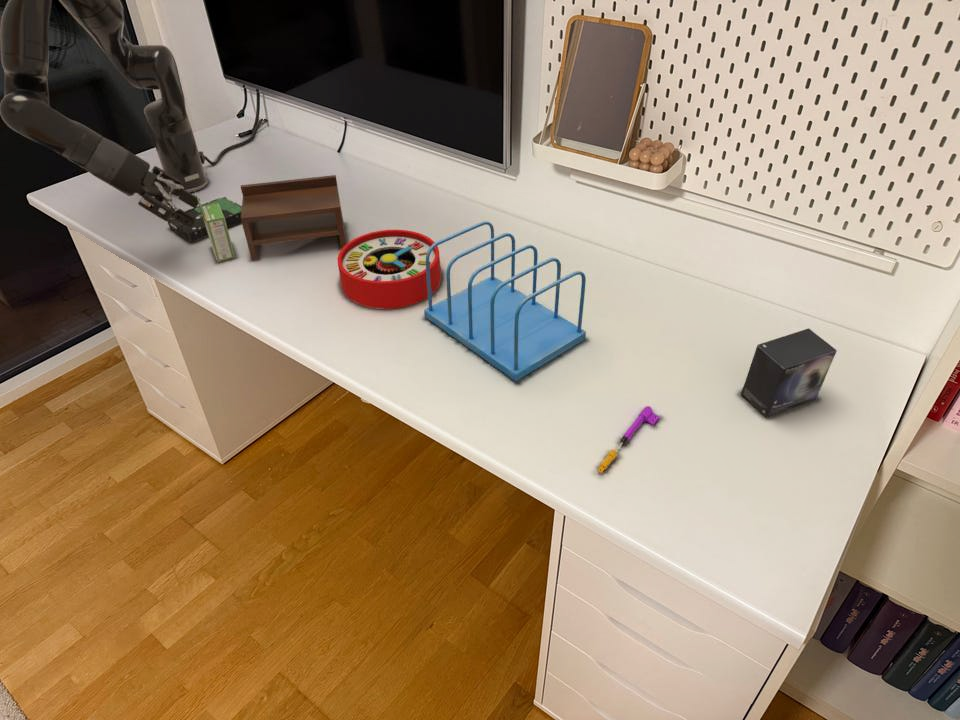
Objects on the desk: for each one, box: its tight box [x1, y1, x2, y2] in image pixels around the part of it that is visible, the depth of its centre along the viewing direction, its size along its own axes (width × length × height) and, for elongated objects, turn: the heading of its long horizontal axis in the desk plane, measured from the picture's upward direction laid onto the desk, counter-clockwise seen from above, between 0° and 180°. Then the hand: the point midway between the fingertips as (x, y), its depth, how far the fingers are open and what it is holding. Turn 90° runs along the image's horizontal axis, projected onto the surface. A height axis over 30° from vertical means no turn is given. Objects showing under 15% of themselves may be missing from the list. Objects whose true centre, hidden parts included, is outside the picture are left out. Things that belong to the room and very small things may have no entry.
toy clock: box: [336, 229, 442, 310], centre depth 138 cm, size 20×6×20 cm
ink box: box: [194, 191, 236, 263], centre depth 145 cm, size 7×4×13 cm, turn 26°
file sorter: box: [423, 220, 587, 382], centre depth 122 cm, size 25×17×15 cm
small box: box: [740, 328, 838, 418], centre depth 108 cm, size 11×6×10 cm, turn 114°
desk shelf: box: [240, 174, 347, 261], centre depth 148 cm, size 11×20×12 cm, turn 102°
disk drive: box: [167, 196, 242, 243], centre depth 158 cm, size 10×3×15 cm
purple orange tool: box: [596, 405, 660, 474], centre depth 104 cm, size 3×1×16 cm
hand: (195, 213), depth 142 cm, fingers open, 8 cm apart
